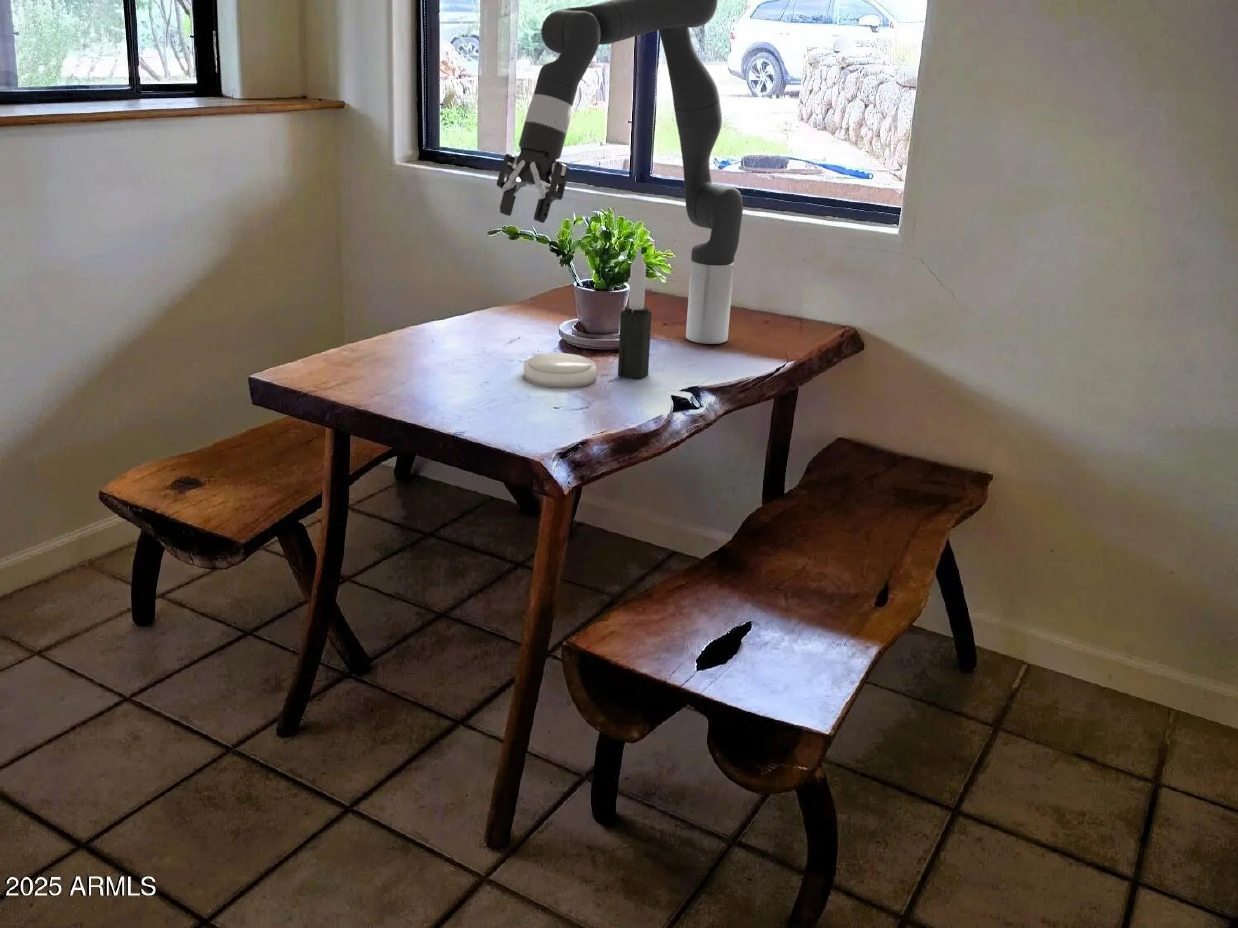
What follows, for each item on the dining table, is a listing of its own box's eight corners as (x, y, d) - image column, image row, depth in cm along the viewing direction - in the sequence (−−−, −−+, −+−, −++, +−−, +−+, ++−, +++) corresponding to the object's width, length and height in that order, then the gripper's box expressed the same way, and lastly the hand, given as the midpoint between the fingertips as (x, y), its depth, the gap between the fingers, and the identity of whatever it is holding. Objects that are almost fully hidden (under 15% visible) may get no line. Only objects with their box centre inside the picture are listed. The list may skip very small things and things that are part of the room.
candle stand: (528, 364, 224) (528, 349, 223) (598, 368, 223) (599, 353, 222) (518, 385, 211) (519, 370, 210) (593, 389, 210) (593, 374, 209)
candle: (650, 373, 222) (657, 247, 212) (639, 380, 217) (646, 251, 208) (626, 369, 224) (632, 243, 214) (615, 376, 219) (621, 248, 210)
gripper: (589, 138, 194) (564, 229, 196) (531, 129, 203) (508, 217, 205) (561, 124, 188) (535, 218, 190) (503, 116, 197) (479, 206, 199)
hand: (521, 218), depth 197 cm, fingers open, 8 cm apart
